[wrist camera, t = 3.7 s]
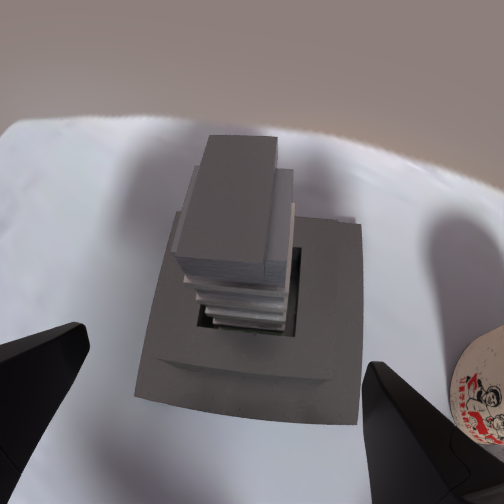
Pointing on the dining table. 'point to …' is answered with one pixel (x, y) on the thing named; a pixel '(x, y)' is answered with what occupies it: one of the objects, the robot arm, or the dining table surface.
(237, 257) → the column
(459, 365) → the teacup with lid
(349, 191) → the dining table surface
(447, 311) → the dining table surface
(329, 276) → the stand base
